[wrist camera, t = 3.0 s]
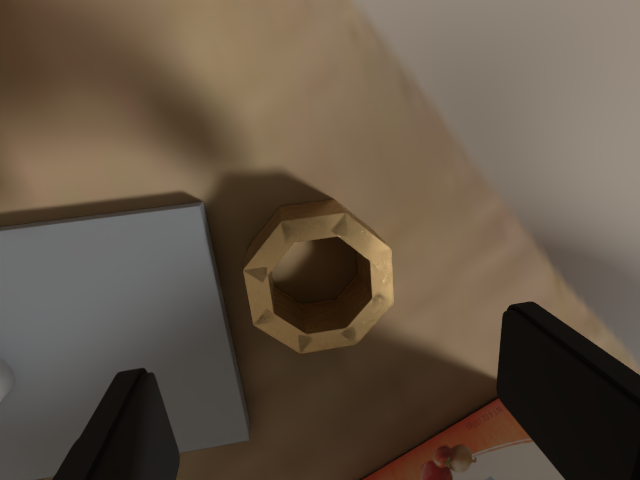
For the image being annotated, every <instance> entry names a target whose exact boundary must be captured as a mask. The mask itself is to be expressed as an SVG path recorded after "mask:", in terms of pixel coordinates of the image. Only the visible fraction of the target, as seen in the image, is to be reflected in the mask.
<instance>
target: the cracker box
mask: <svg viewBox="0 0 640 480" xmlns="http://www.w3.org/2000/svg"><path fill="white" fill-rule="evenodd" d="M362 480H565V479H564V478H563V477H562V475H561V474H560V473H559V472H558V471H557V469H556V468H555V467H554V466H553V465H552V463H551V462H550V461H549V460H548V458H547V457H546V456H545V455H544V454H543V452H542V451H541V450H540V449H539V448H538V446H537V445H536V444H535V443H534V441H533V440H532V439H531V438H530V437H529V435H528V434H527V433H526V432H525V431H524V429H523V428H522V427H521V426H520V424H519V423H518V422H517V421H516V420H515V418H514V417H513V416H512V415H511V414H510V412H509V411H508V410H507V409H506V407H505V406H504V405H503V404H502V402H501V401H500V399H499V398H498V399H496V400H494V401H493V402H491V403H489V404H488V405H486V406H484V407H483V408H481V409H480V410H478V411H476V412H475V413H473V414H471V415H470V416H468V417H466V418H465V419H463V420H461V421H460V422H458V423H456V424H454V425H453V426H451V427H450V428H448V429H446V430H444V431H443V432H441V433H439V434H438V435H436V436H434V437H433V438H431V439H429V440H428V441H426V442H425V443H423V444H421V445H420V446H418V447H416V448H414V449H413V450H411V451H409V452H408V453H406V454H404V455H403V456H401V457H399V458H398V459H396V460H394V461H393V462H391V463H389V464H388V465H386V466H384V467H383V468H381V469H379V470H378V471H376V472H374V473H373V474H371V475H369V476H368V477H366V478H364V479H362Z"/></svg>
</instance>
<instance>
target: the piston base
mask: <svg viewBox="0 0 640 480" xmlns="http://www.w3.org/2000/svg"><path fill="white" fill-rule="evenodd" d="M138 368H145V369H146V370H147V372H148V373H150V372H153V373H154V375H155V377H156V380H157V383H158V386H159V389H160V393H161V396H162V399H163V402H164V405H165V408H166V412H167V415H168V418H169V421H170V424H171V427H172V430H173V434H174V437H175V440H176V443H177V446H178V449H179V453H184V452H189V451H195V450H200V449H205V448H211V447H216V446H222V445H227V444H232V443H238V442H243V441H249V440H250V429H251V426H250V421H249V416H248V412H247V407H246V402H245V397H244V393H243V388H242V383H241V378H240V374H239V369H238V364H237V359H236V355H235V350H234V345H233V340H232V336H231V331H230V326H229V321H228V317H227V312H226V307H225V302H224V298H223V293H222V288H221V284H220V279H219V274H218V269H217V265H216V260H215V255H214V250H213V246H212V241H211V236H210V231H209V227H208V222H207V217H206V212H205V208H204V203H203V202H196V203H188V204H180V205H172V206H164V207H156V208H148V209H140V210H132V211H124V212H116V213H108V214H100V215H92V216H84V217H76V218H68V219H60V220H52V221H44V222H36V223H28V224H20V225H12V226H4V227H0V480H38V479H43V478H49V477H54V476H55V474H56V473H57V471H58V469H59V468H60V466H61V464H62V462H63V461H64V459H65V457H66V456H67V454H68V452H69V451H70V449H71V447H72V446H73V444H74V443H75V442H76V440H77V439H79V437H80V436H81V434H82V432H83V430H84V429H85V427H86V425H87V424H88V422H89V420H90V418H91V417H92V415H93V413H94V411H95V410H96V408H97V406H98V405H99V403H100V401H101V399H102V398H103V396H104V394H105V393H106V391H107V389H108V387H109V386H110V384H111V382H112V380H113V379H114V377H115V375H116V374H117V373H118V372H120V371H126V370H132V369H138Z"/></svg>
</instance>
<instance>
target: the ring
mask: <svg viewBox="0 0 640 480" xmlns="http://www.w3.org/2000/svg"><path fill="white" fill-rule="evenodd" d="M337 236H338V237H339V238H341V239H342V240H343V241H345V242H346V243H347V244H349V245H350V246H351V247H353V248H354V249H355V250H356V255H357V268H358V274H357V275H356V276H355V277H354V278H353V280H352V281H351V282H350V283H349V284H348V285H347V286H346V288H345V289H344V290H343V291H342V292H341V293H340V295H339V296H338V297H337V298H336V299H332V300H326V301H319V302H313V303H306V304H301V303H299V302H298V301H296V300H295V299H293V298H291V297H290V296H288V295H287V294H285V293H284V292H282V291H281V290H279V289H278V288H276V287H275V286H274V285H273V278H272V272H271V271H272V270H273V268H274V267H275V266H276V265H277V263H278V262H279V261H280V260H281V258H282V257H283V256H284V255H285V253H286V252H287V251H288V250H289V248H290V247H291V246H292V245H293V244H294V242H301V241H308V240H315V239H323V238H330V237H337ZM243 272H244V278H245V283H246V289H247V294H248V299H249V305H250V310H251V315H252V321H253V325H254V326H256V327H257V328H259V329H260V330H262V331H264V332H265V333H267V334H269V335H270V336H272V337H274V338H275V339H277V340H279V341H280V342H282V343H283V344H285V345H287V346H288V347H290V348H292V349H293V350H295V351H297V352H298V353H300V354H302V353H308V352H315V351H321V350H327V349H333V348H339V347H345V346H351V345H356V344H357V343H358V342H359V341H360V340H361V339H362V338H363V337H364V335H365V334H366V333H367V332H368V331H369V330H370V329H371V328H372V327H373V325H374V324H375V323H376V322H377V321H378V320H379V319H380V318H381V317H382V315H383V314H384V313H385V312H386V311H387V310H388V309H389V308H390V307H391V305H392V304H393V303H394V302H393V278H392V254H391V248H390V247H389V246H388V245H387V244H386V243H385V242H384V241H383V240H382V239H381V238H380V237H379V236H378V235H377V234H376V232H375V231H374V230H372V229H371V228H370V227H369V226H367V225H366V224H365V223H364V222H362V221H361V220H360V219H358V218H357V217H356V216H355V215H353V214H352V213H351V212H350V211H348V210H347V209H346V208H345V207H343V206H342V205H341V204H340V203H338V202H337V201H336V200H335V199H331V200H323V201H315V202H307V203H300V204H292V205H284V206H280V207H279V208H278V209H277V211H276V212H275V213H274V214H273V216H272V217H271V218H270V220H269V221H268V222H267V223H266V225H265V226H264V227H263V229H262V230H261V231H260V232H259V234H258V235H257V236H256V238H255V239H254V240H253V241H252V243H251V244H250V245H249V247H248V248H247V253H246V258H245V263H244V268H243Z"/></svg>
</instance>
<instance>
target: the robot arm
mask: <svg viewBox="0 0 640 480" xmlns="http://www.w3.org/2000/svg"><path fill="white" fill-rule="evenodd" d="M496 390H497V394H498V397H499V399H500V401H501V402H502V404H503V405H504V406H505V407H506V409H507V410H508V411H509V412H510V414H511V415H512V416H513V417H514V418H515V420H516V421H517V422H518V423H519V424H520V426H521V427H522V428H523V429H524V431H525V432H526V433H527V434H528V435H529V437H530V438H531V439H532V440H533V441H534V443H535V444H536V445H537V446H538V448H539V449H540V450H541V451H542V452H543V454H544V455H545V456H546V457H547V458H548V460H549V461H550V462H551V463H552V465H553V466H554V467H555V468H556V469H557V471H558V472H559V473H560V474H561V475H562V477H563V478H564V479H565V480H640V375H639V374H637V373H636V372H634V371H633V370H631V369H630V368H629V367H627V366H626V365H624V364H623V363H621V362H620V361H618V360H617V359H616V358H614V357H613V356H611V355H610V354H608V353H607V352H605V351H604V350H603V349H601V348H600V347H598V346H597V345H595V344H594V343H593V342H591V341H590V340H588V339H587V338H585V337H584V336H582V335H581V334H580V333H578V332H577V331H575V330H574V329H572V328H571V327H569V326H568V325H567V324H565V323H564V322H562V321H561V320H559V319H558V318H556V317H555V316H554V315H552V314H551V313H549V312H548V311H546V310H545V309H543V308H542V307H541V306H539V305H538V304H536V303H534V302H524V303H518V304H512V305H510V306H509V307H508V309H507V311H505V312H504V313H503V317H502V329H501V340H500V352H499V363H498V375H497V386H496ZM179 461H180V456H179V449H178V446H177V443H176V440H175V437H174V434H173V430H172V427H171V424H170V421H169V418H168V415H167V412H166V408H165V405H164V402H163V399H162V396H161V393H160V389H159V386H158V383H157V380H156V377H155V375H154V373H153V372H150V373H148V372H147V370H146V369H145V368H138V369H132V370H126V371H120V372H118V373H117V374H116V375H115V377H114V379H113V380H112V382H111V384H110V386H109V387H108V389H107V391H106V393H105V394H104V396H103V398H102V399H101V401H100V403H99V405H98V406H97V408H96V410H95V411H94V413H93V415H92V417H91V418H90V420H89V422H88V424H87V425H86V427H85V429H84V430H83V432H82V434H81V436H80V437H79V439H77V440H76V442H75V443H74V444H73V446H72V447H71V449H70V451H69V452H68V454H67V456H66V457H65V459H64V461H63V462H62V464H61V466H60V468H59V469H58V471H57V473H56V474H55V476H54V478H53V479H52V480H176V476H177V472H178V468H179Z"/></svg>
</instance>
